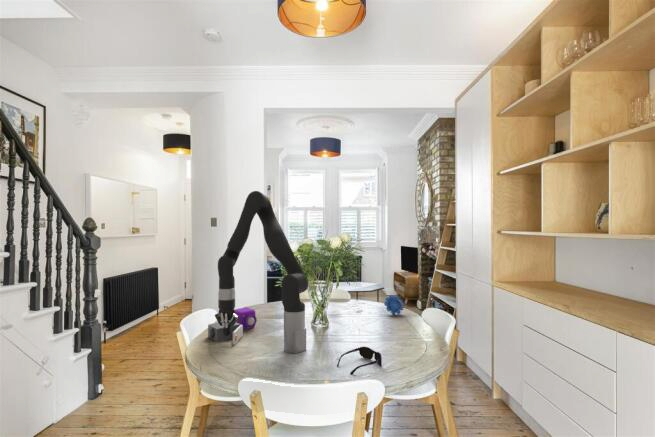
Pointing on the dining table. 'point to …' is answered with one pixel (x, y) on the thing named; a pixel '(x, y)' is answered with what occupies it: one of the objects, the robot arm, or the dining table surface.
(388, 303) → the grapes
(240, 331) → the side door
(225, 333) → the robot arm
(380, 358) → the sunglasses
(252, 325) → the toy camera
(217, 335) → the camera case
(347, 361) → the dining table surface
